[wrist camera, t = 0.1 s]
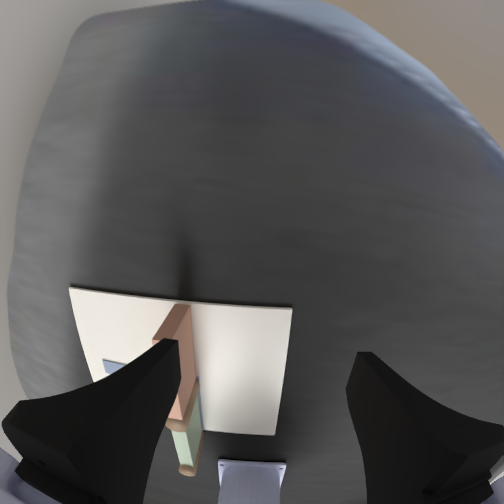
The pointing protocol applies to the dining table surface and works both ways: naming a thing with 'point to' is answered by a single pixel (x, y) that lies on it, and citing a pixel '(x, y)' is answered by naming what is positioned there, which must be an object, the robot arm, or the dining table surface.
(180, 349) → the fence panel
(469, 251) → the dining table surface
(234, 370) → the card
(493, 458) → the robot arm
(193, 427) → the fence fixed
